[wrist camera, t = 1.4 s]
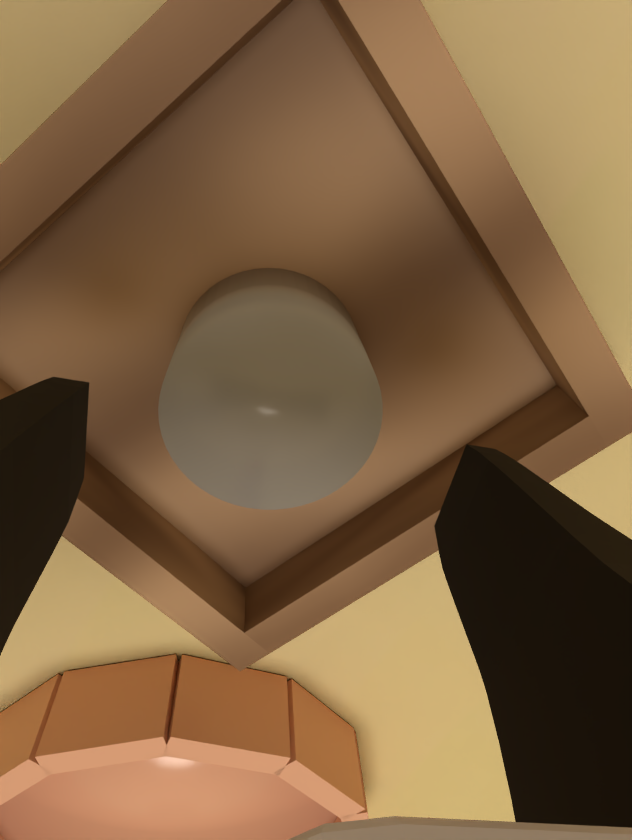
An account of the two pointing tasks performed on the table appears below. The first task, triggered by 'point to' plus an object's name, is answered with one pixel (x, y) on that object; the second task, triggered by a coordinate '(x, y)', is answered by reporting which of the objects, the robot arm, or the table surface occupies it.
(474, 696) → the table surface
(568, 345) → the parts tray
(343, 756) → the bowl
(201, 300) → the cylinder
